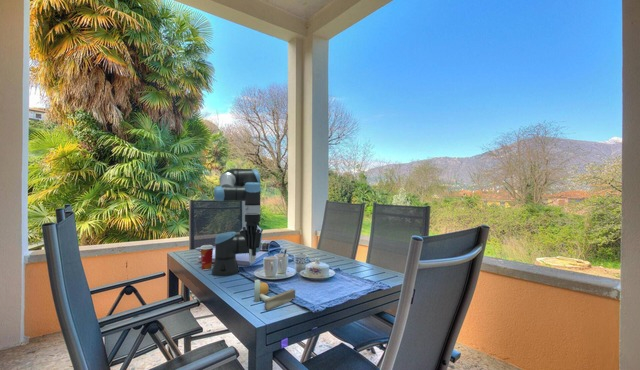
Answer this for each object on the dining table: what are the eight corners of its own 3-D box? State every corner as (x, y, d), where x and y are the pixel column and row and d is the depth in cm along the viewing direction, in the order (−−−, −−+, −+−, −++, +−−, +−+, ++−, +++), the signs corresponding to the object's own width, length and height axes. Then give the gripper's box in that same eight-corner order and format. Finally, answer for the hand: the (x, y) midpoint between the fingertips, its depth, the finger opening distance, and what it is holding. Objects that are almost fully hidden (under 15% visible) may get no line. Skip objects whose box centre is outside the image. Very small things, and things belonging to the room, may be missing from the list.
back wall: (264, 309, 117) (264, 299, 117) (292, 297, 129) (292, 289, 129) (267, 310, 116) (267, 300, 116) (295, 298, 128) (295, 290, 128)
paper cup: (199, 267, 177) (200, 245, 177) (213, 266, 180) (213, 244, 180) (199, 270, 170) (200, 247, 170) (213, 269, 173) (213, 246, 173)
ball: (262, 291, 127) (259, 300, 130) (272, 286, 131) (269, 295, 134) (254, 282, 130) (252, 291, 133) (265, 277, 134) (262, 286, 137)
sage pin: (253, 300, 125) (253, 280, 125) (257, 299, 127) (257, 279, 127) (256, 302, 124) (257, 281, 124) (260, 300, 126) (261, 280, 126)
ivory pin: (263, 296, 129) (276, 302, 123) (259, 300, 127) (272, 306, 121) (262, 292, 128) (274, 297, 122) (258, 296, 126) (270, 301, 120)
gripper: (238, 213, 140) (237, 261, 140) (254, 215, 131) (254, 266, 131) (250, 212, 146) (250, 258, 145) (267, 214, 137) (267, 262, 137)
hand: (252, 261), depth 138 cm, fingers closed
